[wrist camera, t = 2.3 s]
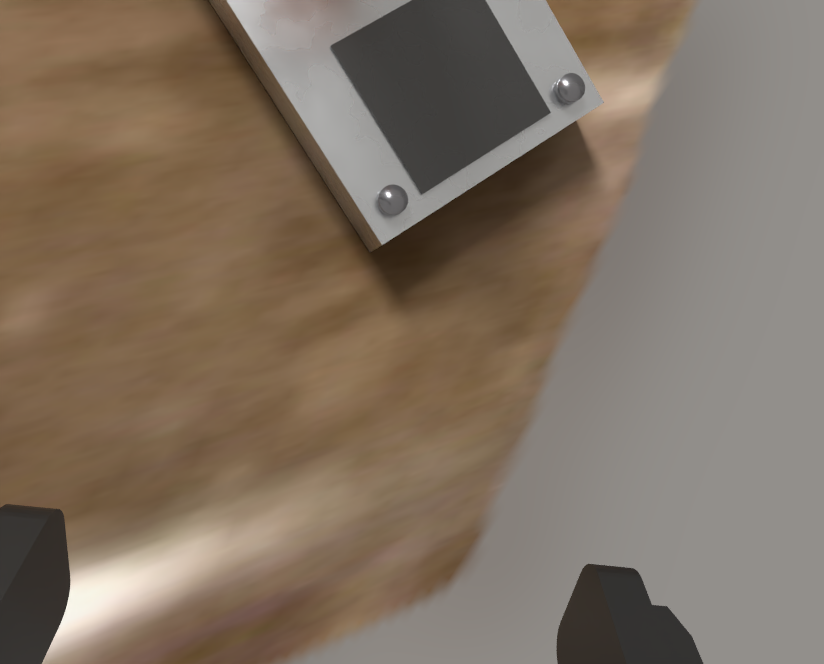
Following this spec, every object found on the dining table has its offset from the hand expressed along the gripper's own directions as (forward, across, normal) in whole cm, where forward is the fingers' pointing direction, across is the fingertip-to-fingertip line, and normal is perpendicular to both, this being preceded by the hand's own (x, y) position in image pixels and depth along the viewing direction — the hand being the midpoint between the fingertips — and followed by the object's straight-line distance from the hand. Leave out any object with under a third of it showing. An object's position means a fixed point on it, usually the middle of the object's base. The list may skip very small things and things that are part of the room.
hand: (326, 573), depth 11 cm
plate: (+32, 0, -4) cm, 33 cm away
